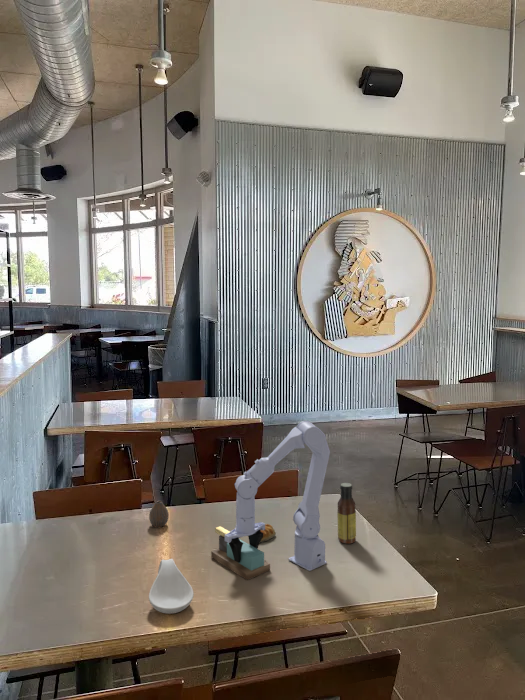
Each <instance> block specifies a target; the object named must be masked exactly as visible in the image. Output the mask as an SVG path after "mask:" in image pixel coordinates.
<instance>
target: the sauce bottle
mask: <svg viewBox="0 0 525 700" xmlns="http://www.w3.org/2000/svg"><path fill="white" fill-rule="evenodd" d="M339 486H340V487H339V488H340V498H339V500H338V501H337V512H336V513H337V540H338V541H339V542H340V543H342V544H346V545H349V544H350V545H351V544H354V543H356V540H357V514H356V513H357V512H356V511H357V510H356V502H355V500H354V498H353V492H352V490H353V484H352V483H349V482H342V483H340V485H339Z"/></svg>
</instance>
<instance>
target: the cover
mask: <svg viewBox="0 0 525 700" xmlns="http://www.w3.org/2000/svg"><path fill="white" fill-rule="evenodd" d="M239 540H240V541H241V542H242V543H243V545H242V549H241V560H240V562H239V563H240V564H241V565H243V566H244V567H246V568H248V569H249V570H251V571H252V570H254V569H257V568H259V567H261V566H264V561H265V552H264V551H262V550H260V549H259V548H258V549H257V548H255V547H253V546H251V545H250V544H249V543H247V542H246V541H244V540H242V539H241V538H239ZM227 556H228V557H230V558H231V559H233V560H234V556H233V553H232V550H231V547H230V545H229V543H227Z"/></svg>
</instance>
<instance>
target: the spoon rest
mask: <svg viewBox="0 0 525 700" xmlns="http://www.w3.org/2000/svg"><path fill="white" fill-rule="evenodd" d="M194 594H195V593H194V589H193V587H192V585H191V584H190V583H189V581H188V580H187V578H186V577H185V576H184V574H183V573H182V572H181V570H180V569H179V568H178V566H177V565H176V563H175V560H174V558H170V559H161V560H160V563H159V566H158V570H157V576H156V578H154V581H153V583H152V585H151V587H150V590H149V593H148V601H149V603H150V605H151V606H152V607H153V608H154V610H156V611H157V612H160V613H163V614H167V615H170V614H177V613H179V612H182V611H184V610H185V609H187V607H189V605H190V604H191V603H192V601H193V598H194Z"/></svg>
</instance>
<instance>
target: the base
mask: <svg viewBox="0 0 525 700" xmlns="http://www.w3.org/2000/svg"><path fill="white" fill-rule="evenodd" d="M227 543H228V542H226V541H225V538H224V537H222V536H221V535H218V548H217V549H215V550H212V551H211V552H210V555H211V558H212V560H213V559H214V560H215V561H216V562H218V563H220V564H221V565H222V566H224V567H226V568H228V570H231V571H232V572H234V573H235V574H237V575H238V576H240V577H242V578H243V579H245V580H246V581H248V580H251V579H253V578H255V577H258V576H260V575H262V574H265V573H267V572H269V571H271V563H269V562H268V561H266V560H264V566H261V567H259V568H257V569H254V570H252V571H251V570H249V569H248V568H246V567H244V566H243V565H241V564H240V563H238V562H236V561H235V560H233V559H231V558H230V557H228V556H227Z"/></svg>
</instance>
